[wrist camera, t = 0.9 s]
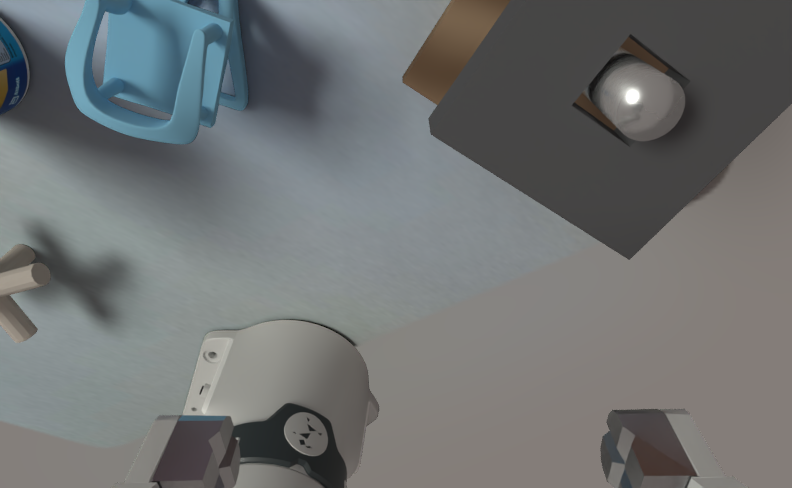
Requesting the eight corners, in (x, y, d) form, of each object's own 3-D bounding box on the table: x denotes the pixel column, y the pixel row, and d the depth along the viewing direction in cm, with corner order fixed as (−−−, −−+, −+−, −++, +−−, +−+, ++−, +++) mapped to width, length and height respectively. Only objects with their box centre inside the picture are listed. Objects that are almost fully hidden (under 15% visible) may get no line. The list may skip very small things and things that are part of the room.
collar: (614, 237, 34) (629, 259, 32) (428, 118, 30) (430, 134, 28) (813, 38, 28) (847, 49, 25) (611, -145, 24) (632, -151, 22)
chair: (272, -8, 36) (220, 24, 26) (246, 109, 40) (193, 177, 30) (152, -53, 35) (47, -38, 24) (138, 73, 39) (44, 131, 28)
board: (572, 188, 43) (577, 196, 42) (402, 76, 39) (402, 82, 37) (738, 3, 36) (750, 7, 35) (553, -159, 32) (560, -162, 30)
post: (571, 79, 37) (649, 155, 26) (535, 53, 36) (599, 119, 25) (605, 38, 36) (703, 98, 24) (568, 9, 35) (651, 58, 23)
